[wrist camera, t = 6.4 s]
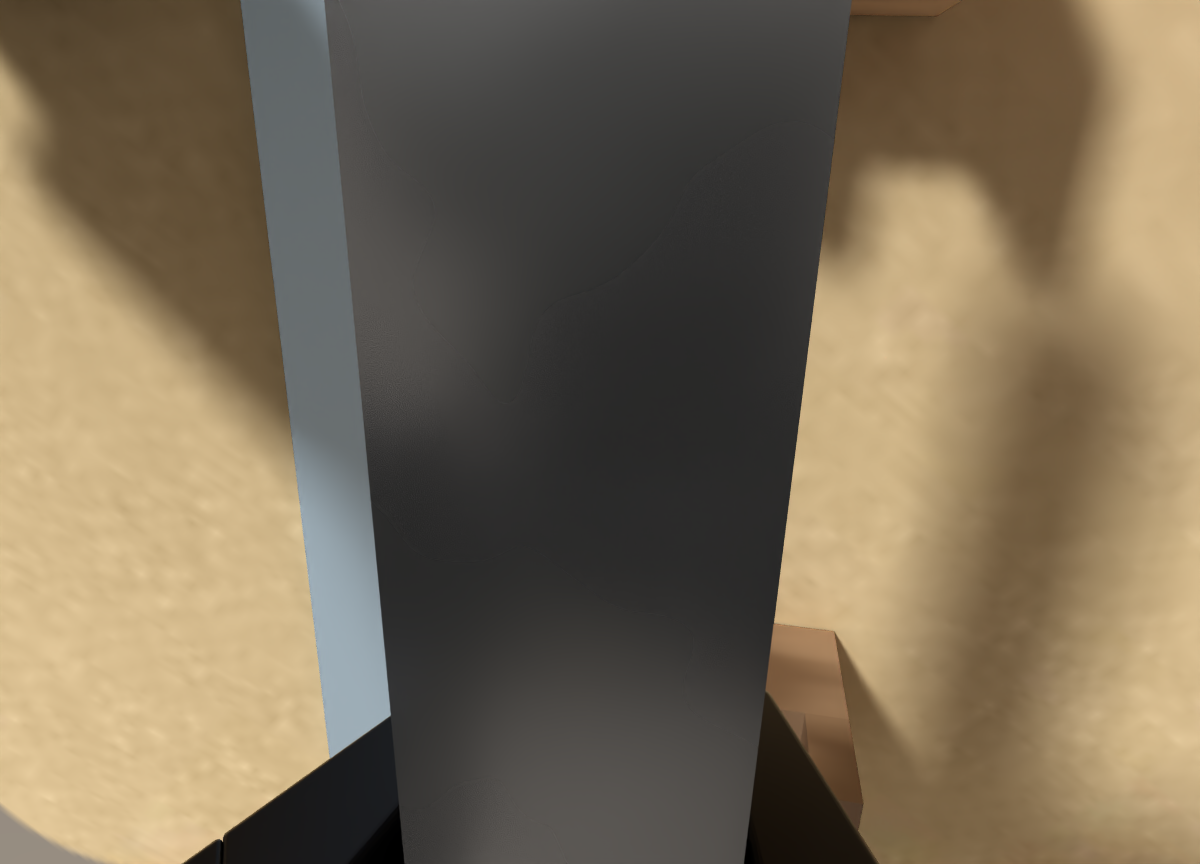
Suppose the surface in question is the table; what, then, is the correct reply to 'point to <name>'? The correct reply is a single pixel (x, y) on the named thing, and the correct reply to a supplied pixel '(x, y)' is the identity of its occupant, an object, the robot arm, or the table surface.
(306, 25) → the mat
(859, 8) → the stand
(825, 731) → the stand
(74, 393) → the table surface
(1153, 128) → the table surface
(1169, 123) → the table surface
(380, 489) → the rail
